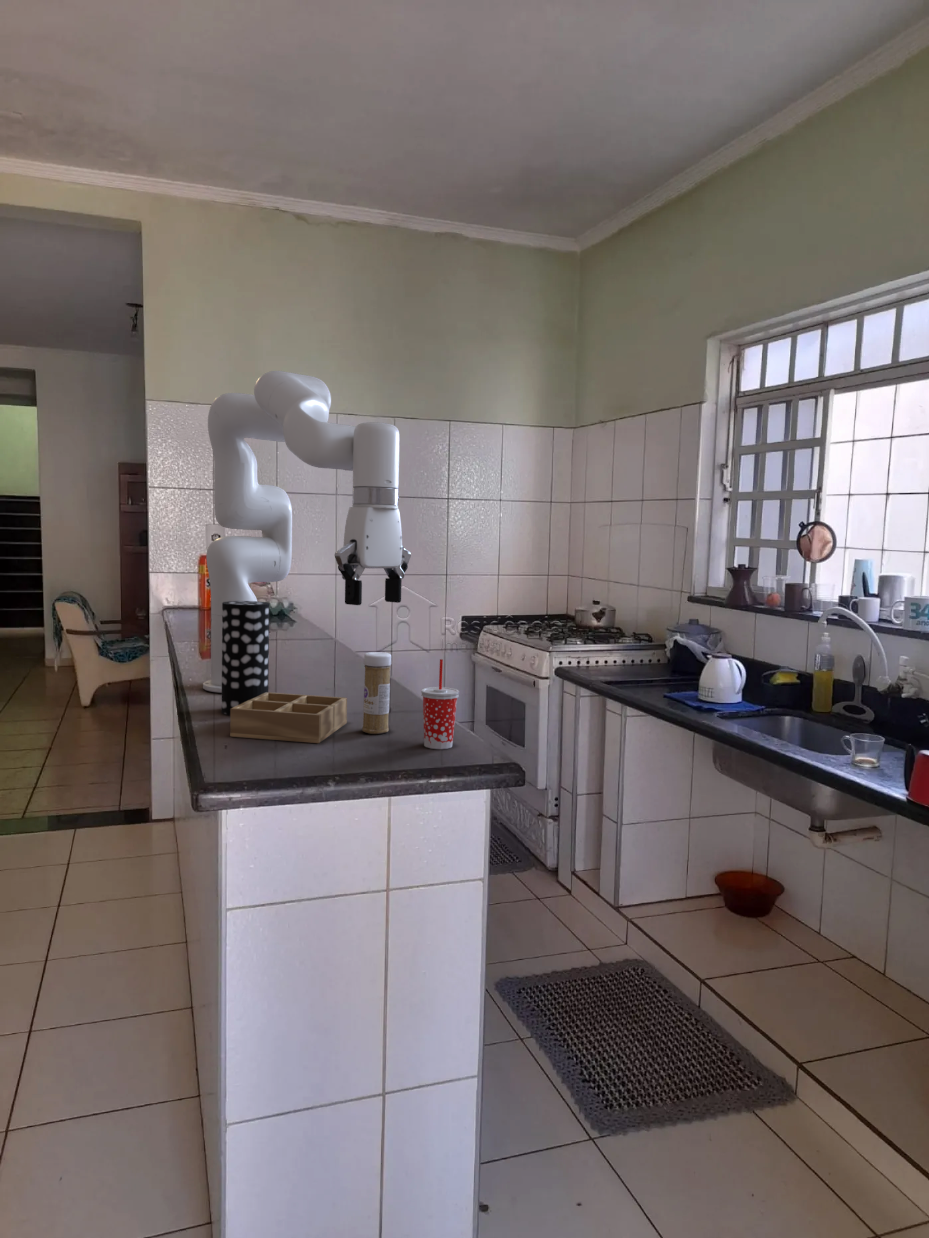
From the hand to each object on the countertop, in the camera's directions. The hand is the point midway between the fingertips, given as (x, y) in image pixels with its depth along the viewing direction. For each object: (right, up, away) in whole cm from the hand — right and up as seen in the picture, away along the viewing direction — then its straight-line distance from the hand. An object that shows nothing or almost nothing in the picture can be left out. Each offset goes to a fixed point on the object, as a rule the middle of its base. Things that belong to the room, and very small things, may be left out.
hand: (373, 603), depth 144 cm
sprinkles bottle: (0, -22, +3) cm, 22 cm away
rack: (-14, -21, +2) cm, 26 cm away
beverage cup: (+11, -23, -5) cm, 26 cm away
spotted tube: (-25, -20, +15) cm, 35 cm away
